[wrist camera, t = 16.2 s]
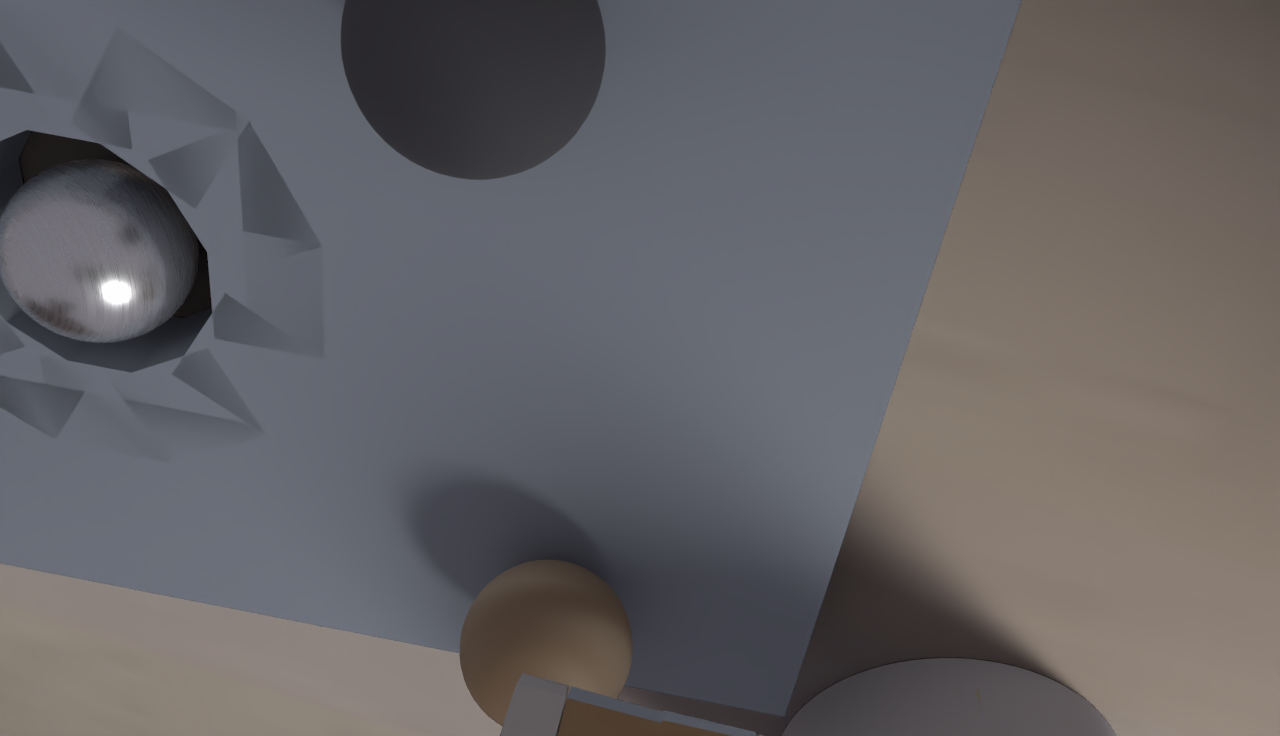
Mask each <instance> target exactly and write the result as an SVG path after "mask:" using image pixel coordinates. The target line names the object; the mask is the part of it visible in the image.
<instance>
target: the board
mask: <svg viewBox="0 0 1280 736" xmlns="http://www.w3.org/2000/svg"><path fill="white" fill-rule="evenodd" d="M345 1H346V0H0V218H1V215H2V213H3V211H4V209H5V207H6V206H7V204H8V202H9V200H10V199H11V198H12V196H13V195H14V194H15V193H16V192H17V190H18V189H19V188H20V187H21V186H22V185H23V180H22V175H21V169H20V164H19V157H20V155H21V152H22V150H23V148H24V146H25V144H26V142H27V140H28V138H29V136H30V134H31V131H36V132H41V133H46V134H52V135H57V136H63V137H68V138H73V139H79V140H84V141H89V142H95V143H100V144H101V145H103V146H104V147H106V148H107V149H109V150H110V151H112V152H113V153H114V154H116V155H117V156H119V157H120V158H122V159H123V160H125V161H126V162H128V163H129V164H130V165H132V166H133V167H135V168H136V169H138V170H139V171H141V172H142V173H144V174H145V175H146V176H148V177H149V178H151V179H152V180H154V181H155V182H157V183H158V184H159V185H161V186H162V187H164V188H165V189H167V191H168V192H169V194H170V195H171V197H172V199H173V200H174V202H175V203H176V205H177V206H178V208H179V209H180V211H181V212H182V214H183V216H184V217H185V219H186V220H187V222H188V223H189V225H190V226H191V228H192V230H193V231H194V233H195V234H196V236H197V237H198V239H199V240H200V242H201V243H202V245H203V247H204V248H205V250H206V251H207V256H208V268H209V280H210V292H211V303H212V308H211V309H208V310H205V311H202V312H199V313H196V314H193V315H190V316H187V317H184V318H180V317H175V316H172V317H170V318H169V319H168V320H167V321H166V322H164V323H163V324H161V325H160V326H158V327H157V328H155V329H153V330H152V331H150V332H148V333H146V334H143V335H141V336H138V337H135V338H131V339H128V340H124V341H118V342H108V343H95V342H85V341H80V340H75V339H71V338H68V337H65V336H62V335H60V334H57V333H54V332H52V331H51V330H49V329H47V328H45V327H43V326H42V325H40V324H39V323H37V322H36V321H34V320H33V319H32V318H31V317H29V316H28V315H27V314H26V313H25V312H24V311H23V310H22V309H21V308H20V307H19V306H18V305H17V304H16V302H15V301H14V300H13V298H12V297H11V296H10V294H9V292H8V291H7V289H6V287H5V285H4V283H3V281H2V278H1V276H0V563H2V564H7V565H12V566H17V567H22V568H27V569H32V570H37V571H42V572H47V573H53V574H58V575H63V576H68V577H73V578H78V579H83V580H88V581H93V582H99V583H104V584H109V585H114V586H119V587H124V588H129V589H134V590H139V591H144V592H150V593H155V594H160V595H165V596H170V597H175V598H180V599H185V600H190V601H195V602H201V603H206V604H211V605H216V606H221V607H226V608H231V609H236V610H241V611H247V612H252V613H257V614H262V615H267V616H272V617H277V618H282V619H287V620H292V621H298V622H303V623H308V624H313V625H318V626H323V627H328V628H333V629H338V630H344V631H349V632H354V633H359V634H364V635H369V636H374V637H379V638H384V639H389V640H395V641H400V642H405V643H410V644H415V645H420V646H425V647H430V648H435V649H440V650H446V651H451V652H456V653H460V638H461V632H462V628H463V624H464V621H465V618H466V616H467V613H468V611H469V609H470V607H471V605H472V604H473V602H474V600H475V599H476V597H477V596H478V594H479V593H480V592H481V591H482V590H483V589H484V588H485V587H486V585H487V584H488V583H489V582H491V581H492V580H493V579H494V578H495V577H497V576H498V575H500V574H501V573H503V572H504V571H506V570H508V569H510V568H512V567H515V566H517V565H520V564H522V563H526V562H529V561H535V560H548V559H549V560H561V561H566V562H570V563H574V564H577V565H579V566H582V567H584V568H586V569H588V570H589V571H591V572H593V573H594V574H596V575H597V576H598V577H600V578H601V579H602V580H604V581H605V582H606V583H607V584H608V585H609V586H610V588H611V589H612V590H613V591H614V592H615V594H616V595H617V596H618V598H619V600H620V601H621V603H622V605H623V607H624V609H625V611H626V613H627V616H628V619H629V623H630V627H631V630H632V641H633V653H632V663H631V667H630V671H629V674H628V678H627V680H626V683H625V685H624V686H629V687H634V688H640V689H645V690H650V691H655V692H660V693H665V694H670V695H675V696H680V697H685V698H691V699H696V700H701V701H706V702H711V703H716V704H721V705H726V706H731V707H737V708H742V709H747V710H752V711H757V712H762V713H767V714H772V715H777V716H782V717H785V714H786V711H787V708H788V705H789V702H790V699H791V696H792V693H793V690H794V687H795V684H796V681H797V678H798V675H799V672H800V669H801V666H802V663H803V660H804V657H805V653H806V650H807V647H808V644H809V641H810V638H811V635H812V632H813V629H814V626H815V623H816V620H817V617H818V614H819V611H820V608H821V605H822V602H823V599H824V596H825V593H826V590H827V587H828V584H829V581H830V578H831V575H832V572H833V569H834V566H835V563H836V560H837V557H838V554H839V551H840V548H841V545H842V542H843V539H844V536H845V533H846V530H847V527H848V524H849V521H850V517H851V514H852V511H853V508H854V505H855V502H856V499H857V496H858V493H859V490H860V487H861V484H862V481H863V478H864V475H865V472H866V469H867V466H868V463H869V460H870V457H871V454H872V451H873V448H874V445H875V442H876V439H877V436H878V433H879V430H880V427H881V424H882V421H883V418H884V415H885V412H886V409H887V406H888V403H889V400H890V397H891V394H892V391H893V388H894V385H895V382H896V378H897V375H898V372H899V369H900V366H901V363H902V360H903V357H904V354H905V351H906V348H907V345H908V342H909V339H910V336H911V333H912V330H913V327H914V324H915V321H916V318H917V315H918V312H919V309H920V306H921V303H922V300H923V297H924V294H925V291H926V288H927V285H928V282H929V279H930V276H931V273H932V270H933V267H934V264H935V261H936V258H937V255H938V252H939V249H940V246H941V242H942V239H943V236H944V233H945V230H946V227H947V224H948V221H949V218H950V215H951V212H952V209H953V206H954V203H955V200H956V197H957V194H958V191H959V188H960V185H961V182H962V179H963V176H964V173H965V170H966V167H967V164H968V161H969V158H970V155H971V152H972V149H973V146H974V143H975V140H976V137H977V134H978V131H979V128H980V125H981V122H982V119H983V116H984V113H985V110H986V106H987V103H988V100H989V97H990V94H991V91H992V88H993V85H994V82H995V79H996V76H997V73H998V70H999V67H1000V64H1001V61H1002V58H1003V55H1004V52H1005V49H1006V46H1007V43H1008V40H1009V37H1010V34H1011V31H1012V28H1013V25H1014V22H1015V19H1016V16H1017V13H1018V10H1019V7H1020V4H1021V1H1022V0H597V2H598V5H599V8H600V11H601V15H602V20H603V25H604V31H605V43H606V55H605V67H604V73H603V78H602V82H601V86H600V90H599V92H598V95H597V98H596V101H595V104H594V106H593V108H592V110H591V112H590V113H589V115H588V117H587V119H586V120H585V122H584V123H583V124H582V126H581V127H580V129H579V130H578V132H577V133H576V134H575V136H574V137H573V138H572V139H571V140H570V141H569V142H568V143H567V144H566V145H565V146H564V147H563V148H562V149H560V150H559V151H558V152H557V153H555V154H554V155H553V156H552V157H550V158H549V159H547V160H546V161H544V162H542V163H540V164H539V165H537V166H535V167H533V168H531V169H528V170H526V171H524V172H521V173H518V174H514V175H510V176H506V177H503V178H496V179H488V180H470V179H462V178H455V177H451V176H447V175H443V174H439V173H436V172H433V171H431V170H428V169H425V168H423V167H421V166H419V165H417V164H415V163H413V162H411V161H410V160H408V159H407V158H405V157H404V156H402V155H401V154H399V153H398V152H397V151H395V150H394V149H393V148H392V147H391V146H389V145H388V144H387V143H386V142H385V141H384V140H383V139H382V138H381V137H380V136H379V135H378V134H377V133H376V132H375V130H374V129H373V128H372V126H371V125H370V124H369V122H368V121H367V120H366V118H365V117H364V115H363V113H362V112H361V110H360V108H359V107H358V105H357V103H356V101H355V98H354V96H353V94H352V92H351V90H350V87H349V84H348V81H347V78H346V75H345V71H344V66H343V61H342V54H341V23H342V15H343V9H344V4H345Z"/></svg>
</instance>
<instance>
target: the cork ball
mask: <svg viewBox="0 0 1280 736" xmlns="http://www.w3.org/2000/svg"><path fill="white" fill-rule="evenodd" d="M632 653H633V641H632V630H631V627H630V623H629V619H628V616H627V613H626V611H625V609H624V607H623V605H622V603H621V601H620V600H619V598H618V596H617V595H616V594H615V592H614V591H613V590H612V589H611V588H610V586H609V585H608V584H607V583H606V582H605V581H604V580H602V579H601V578H600V577H598V576H597V575H596V574H594V573H593V572H591V571H589V570H588V569H586V568H584V567H582V566H579V565H577V564H574V563H570V562H566V561H561V560H549V559H548V560H535V561H529V562H526V563H522V564H520V565H517V566H515V567H512V568H510V569H508V570H506V571H504V572H503V573H501V574H500V575H498V576H497V577H495V578H494V579H493V580H492V581H491V582H489V583H488V584H487V585H486V587H485V588H484V589H483V590H482V591H481V592H480V593H479V594H478V596H477V597H476V599H475V600H474V602H473V604H472V605H471V607H470V609H469V611H468V613H467V616H466V618H465V621H464V624H463V628H462V632H461V638H460V663H461V669H462V673H463V677H464V680H465V682H466V685H467V687H468V689H469V691H470V693H471V695H472V697H473V699H474V700H475V701H476V703H477V704H478V705H479V707H480V708H481V709H482V710H483V711H484V712H485V713H486V714H487V715H488V716H489V717H490V718H491V719H492V720H494V721H495V722H497V723H498V724H500V725H501V726H503V724H504V721H505V718H506V715H507V712H508V709H509V705H510V702H511V699H512V696H513V693H514V690H515V687H516V685H517V683H518V681H519V679H520V677H521V675H522V673H524V674H528V675H531V676H535V677H539V678H543V679H547V680H551V681H554V682H558V683H562V684H566V685H569V690H570V686H573V687H576V688H580V689H583V690H587V691H590V692H594V693H597V694H601V695H605V696H608V697H612V698H615V699H617V698H618V696H619V695H620V693H621V691H622V689H623V687H624V685H625V683H626V680H627V678H628V674H629V671H630V667H631V663H632ZM568 694H569V691H568ZM567 697H568V696H567ZM566 701H567V700H566Z"/></svg>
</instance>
